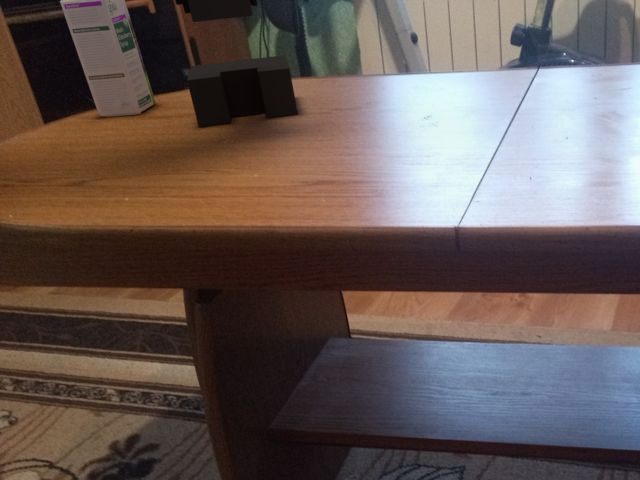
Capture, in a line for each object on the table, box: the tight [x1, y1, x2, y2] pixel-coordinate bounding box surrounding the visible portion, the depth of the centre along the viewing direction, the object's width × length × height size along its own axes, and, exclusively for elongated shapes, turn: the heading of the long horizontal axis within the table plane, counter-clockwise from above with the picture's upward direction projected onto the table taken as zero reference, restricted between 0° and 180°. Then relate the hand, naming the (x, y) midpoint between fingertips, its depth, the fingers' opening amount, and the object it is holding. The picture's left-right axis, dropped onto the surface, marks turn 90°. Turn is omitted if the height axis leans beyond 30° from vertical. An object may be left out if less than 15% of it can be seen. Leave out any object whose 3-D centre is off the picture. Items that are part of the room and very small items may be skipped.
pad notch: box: [186, 54, 299, 128], centre depth 93 cm, size 12×10×6 cm
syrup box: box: [59, 0, 157, 117], centre depth 96 cm, size 6×6×14 cm
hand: (221, 6), depth 77 cm, fingers closed on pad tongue, 6 cm apart
